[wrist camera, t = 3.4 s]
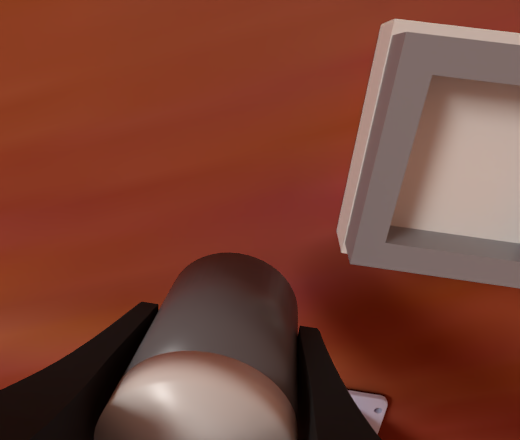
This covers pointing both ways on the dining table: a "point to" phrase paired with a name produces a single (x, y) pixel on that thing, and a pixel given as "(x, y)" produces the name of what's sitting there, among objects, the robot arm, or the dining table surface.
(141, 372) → the gray domed cylinder
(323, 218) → the dining table surface
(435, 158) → the grey square tray
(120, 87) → the dining table surface
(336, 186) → the dining table surface
